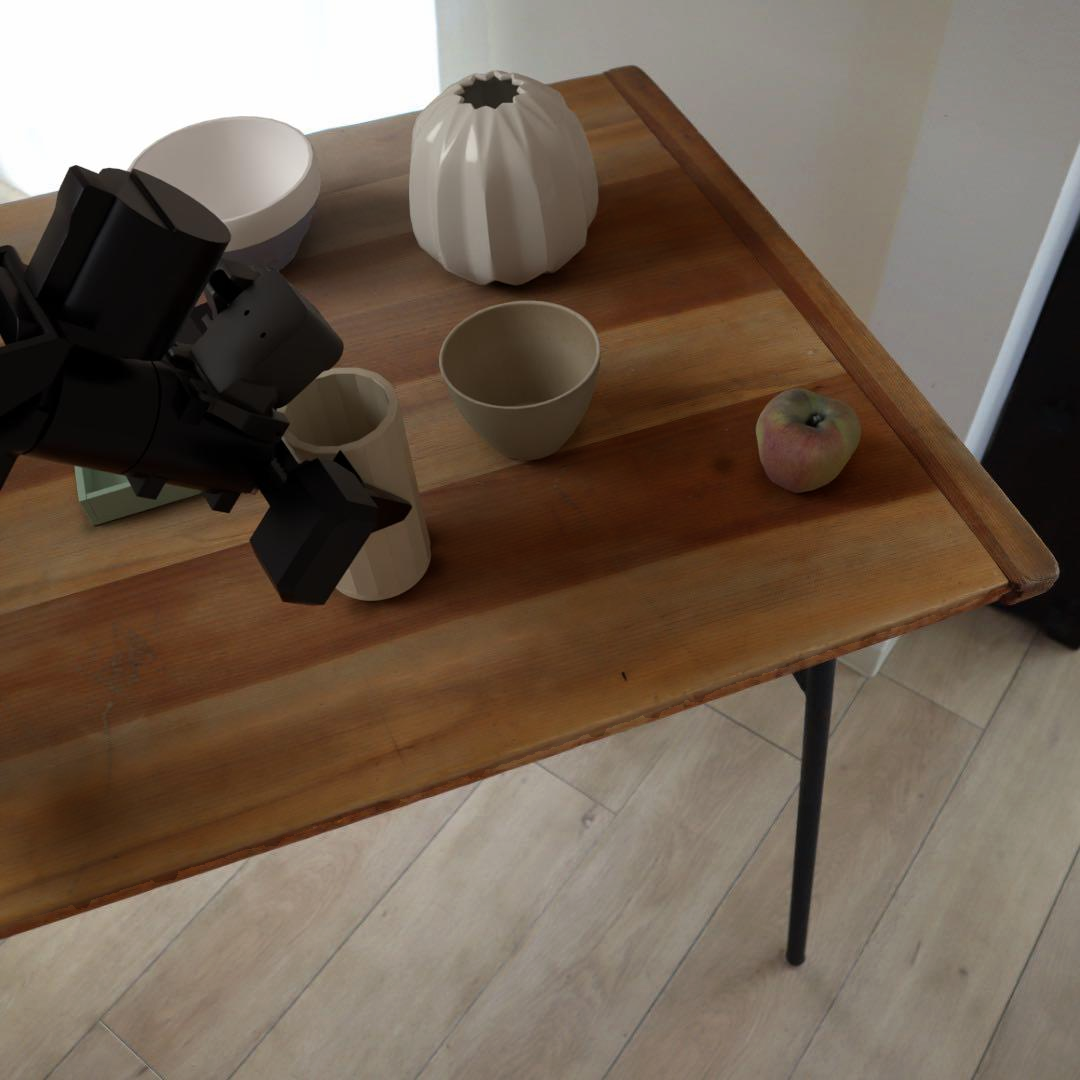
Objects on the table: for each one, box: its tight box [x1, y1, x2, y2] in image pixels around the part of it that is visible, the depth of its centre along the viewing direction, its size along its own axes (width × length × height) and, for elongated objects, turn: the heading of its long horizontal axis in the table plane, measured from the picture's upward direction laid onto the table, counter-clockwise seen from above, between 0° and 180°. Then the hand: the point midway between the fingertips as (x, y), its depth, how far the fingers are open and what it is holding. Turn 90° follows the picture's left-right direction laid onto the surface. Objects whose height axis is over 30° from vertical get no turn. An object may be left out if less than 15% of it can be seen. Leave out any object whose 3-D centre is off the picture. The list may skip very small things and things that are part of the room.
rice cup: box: [277, 367, 432, 602], centre depth 66 cm, size 6×6×12 cm
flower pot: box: [438, 300, 602, 461], centre depth 75 cm, size 10×10×7 cm
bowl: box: [126, 115, 322, 272], centre depth 90 cm, size 14×14×8 cm
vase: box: [408, 69, 599, 287], centre depth 85 cm, size 14×14×13 cm
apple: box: [755, 387, 862, 494], centre depth 72 cm, size 6×8×6 cm
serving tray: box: [73, 466, 202, 527], centre depth 80 cm, size 13×13×2 cm
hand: (379, 474), depth 66 cm, fingers closed on rice cup, 6 cm apart
